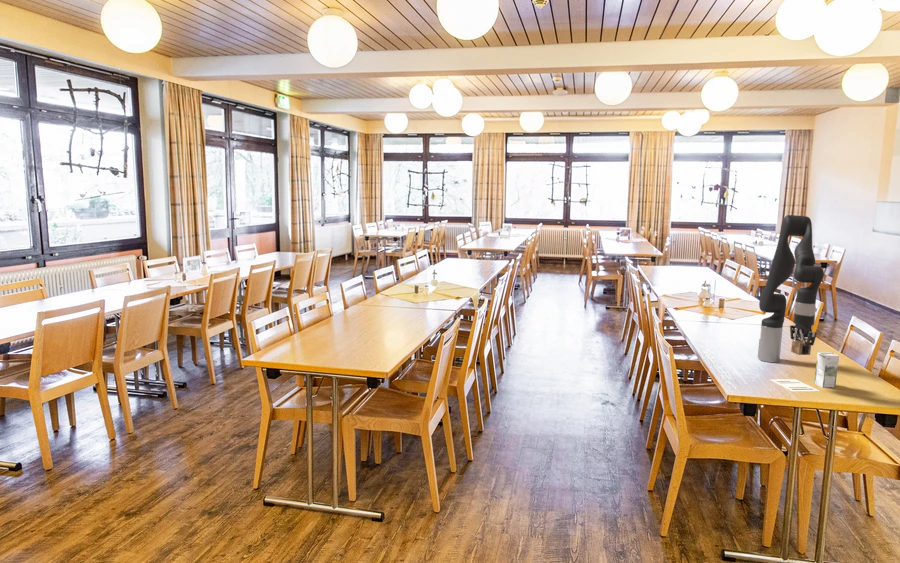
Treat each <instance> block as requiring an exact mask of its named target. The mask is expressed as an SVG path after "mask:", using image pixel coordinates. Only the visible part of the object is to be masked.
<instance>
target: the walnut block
mask: <svg viewBox="0 0 900 563" xmlns="http://www.w3.org/2000/svg"><path fill="white" fill-rule="evenodd" d="M806 342H807V340H806ZM803 346H804V345H803V341H802V340H793V339H791V350H790V352H791V353H794V354H796V355H798V356H805V355H804V354H802V349H803ZM811 350H812V345H811V346H809V352H808V354H807V355H808V356H809V355H810V356H811ZM807 355H806V356H807Z"/></svg>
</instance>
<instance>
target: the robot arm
mask: <svg viewBox="0 0 900 563" xmlns="http://www.w3.org/2000/svg"><path fill="white" fill-rule="evenodd" d="M812 226H813V222H812V220H811V218H810V217H809V216H807V215H806V216H804V215H795V214H794V215H793V214H788V215H785V216H784V218H783V220H782V222H781V227H780V231H779V237H778V242H777V245H776V249H775V253H774V255H773V258H772V261H771V263H770V264H771V265H770V269H769V272H768V273H769V274H768V276H767V280H766V283H765V285H764V287H763V290H762V292H761V295H760V298H759V301H758V302H759V304H758V306H759V310H760V311H761V312H763V313H771V314H772V313H773V314H772V315H770V316H768V317H765V318H763V319H762V320H761V323H760V324H761V327H760V337H759V339H758V348H757V358H758V360H759V361H763V362H765V363H766V362H767V363H779V362H780V359H781V351H782V350H781V349H782V339H783V338H782V337H783V327H784V322H785V318H786V315H785V314H786V310H787V297H786V296H785V295H784V294H782V293H776V291H777V289H778V288H779V287H780V286H781V285H782V284H784V283H785V282H786V281H787V280H788V279H789V278H790V277H791V276H792V273H793V279H794V280H795V281H796V282H798V283H806V284H807V283H809V284H810V285H809V286H805V287H801V288H798V289H797V291H796V297H795V298H796V300H795V305H794V313H793V320H792V321H793V325H789V328H790V329H789V332H790V339H791V340H802V341H803V345H804V346H803V349H802V354H804V355H803V356H807V354H808V352H809V346H811V347H812V346H814V345H815V341H816V338H817V335H818V334H817V332H816V331H815V332H814V331H812V327H813V326H814V325H815V320H816V319H815V318H816V309H817V307H816V304H817V303H816V301H817V294H818V290H819V288H820V285H821V283H822V281H823V278H824V276H825V272H824V270H823V269H824V268H822V267H821V266H818V265H815V264H816V258H815V253H814V249H813V227H812ZM791 236H792V237H802V239H801V240H800V241H799V243H798V244H797V245H796V246H795V248H794V251H793V252H794V254H793V252H792V250H791V248H790V245H789V237H791ZM793 271H794V272H793ZM806 341H807V342H806Z"/></svg>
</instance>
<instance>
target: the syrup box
mask: <svg viewBox="0 0 900 563" xmlns="http://www.w3.org/2000/svg"><path fill="white" fill-rule="evenodd" d="M839 361H840V355H838V354H837V353H834V352H831V351H817V354H816V364H815V371H814V372H815V373H814V380H813V384H815V385H816V386H818V387H820V388H822V389H823V388H824V389H825V388H826V389H828V388H830V387H832V388H833V389H834V388H836V385H837V384H836V383H837V376H838V369H839V368H838V367H839ZM830 389H831V388H830Z"/></svg>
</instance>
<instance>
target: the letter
mask: <svg viewBox="0 0 900 563" xmlns="http://www.w3.org/2000/svg"><path fill="white" fill-rule="evenodd" d="M769 380H770V381H772V382H773V383H775V384H777V385H779V386H781V387H783V388H785V389H786V390H789V391H791V392H793V393H795V392H820V390H819V389H817V388H814V387H813V386H811V385H809V384H807V383H804V382H803V381H800V380H798V379H796V378H785V379H784V378H783V379H782V378H779V379H778V378H776V379H773V378H772V379H769Z"/></svg>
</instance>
